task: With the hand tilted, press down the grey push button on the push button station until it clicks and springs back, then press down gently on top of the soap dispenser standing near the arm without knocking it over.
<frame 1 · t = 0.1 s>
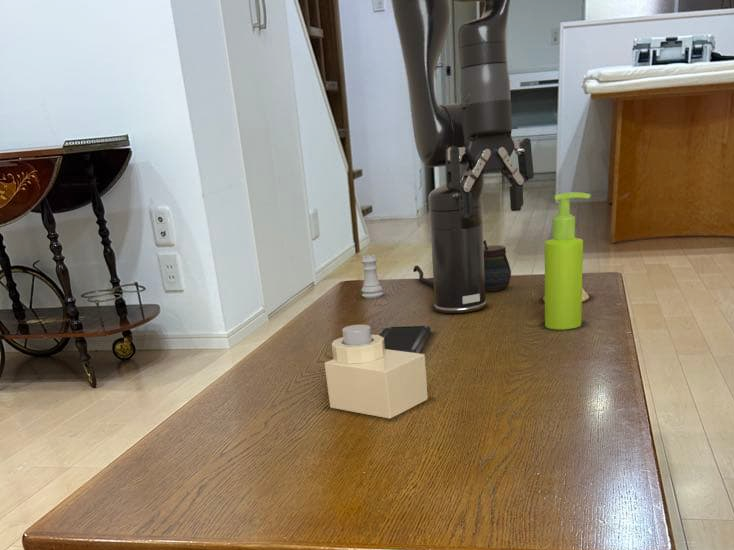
hand: (492, 214, 132), 17 cm above the table, tool pointing down, fingers open, 8 cm apart
mate gourd: (492, 290, 163), on the table
soap dispenser: (566, 326, 135), on the table
push button station: (379, 403, 107), on the table
hand bell: (565, 300, 151), on the table
rook chess piece: (372, 297, 167), on the table
phone: (400, 346, 131), on the table
grey push button: (357, 336, 104), point 9 cm above the table, slide at 0.1 cm
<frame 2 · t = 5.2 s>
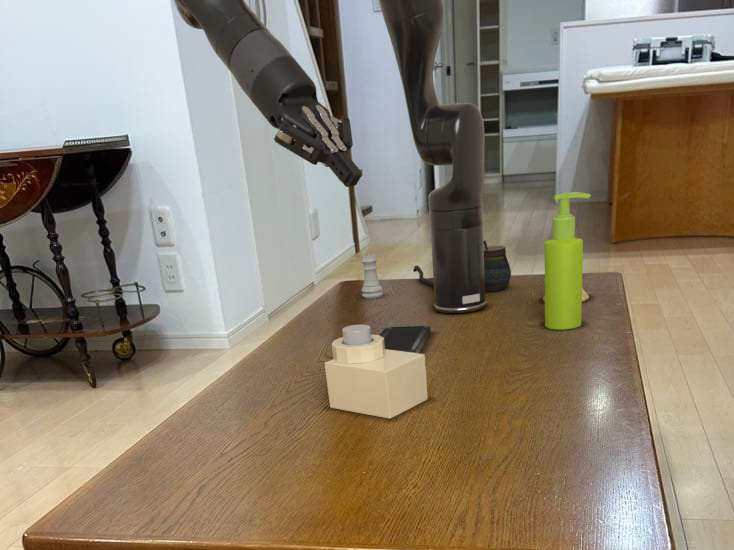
hand: (355, 181, 105), 26 cm above the table, tool tilted 45°, fingers closed
nothing on the table moved.
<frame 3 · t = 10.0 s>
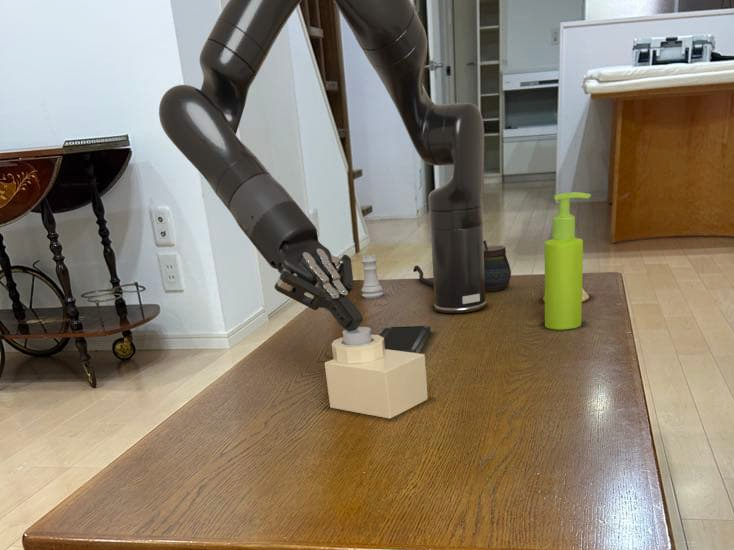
hand: (356, 325, 104), 10 cm above the table, tool tilted 45°, fingers closed
grey push button: (357, 338, 105), point 8 cm above the table, slide at -0.2 cm, touching gripper
everything else where it was.
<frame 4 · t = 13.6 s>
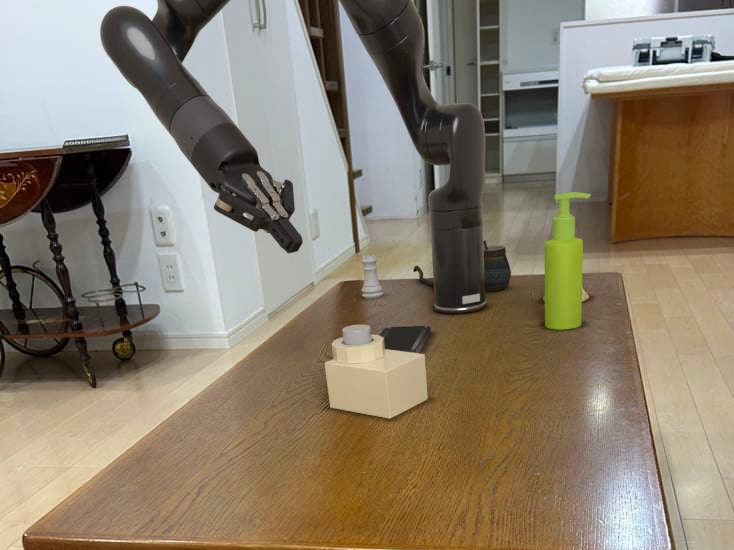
hand: (296, 247, 104), 19 cm above the table, tool tilted 45°, fingers closed
grey push button: (357, 336, 104), point 9 cm above the table, slide at 0.1 cm
everything else where it was.
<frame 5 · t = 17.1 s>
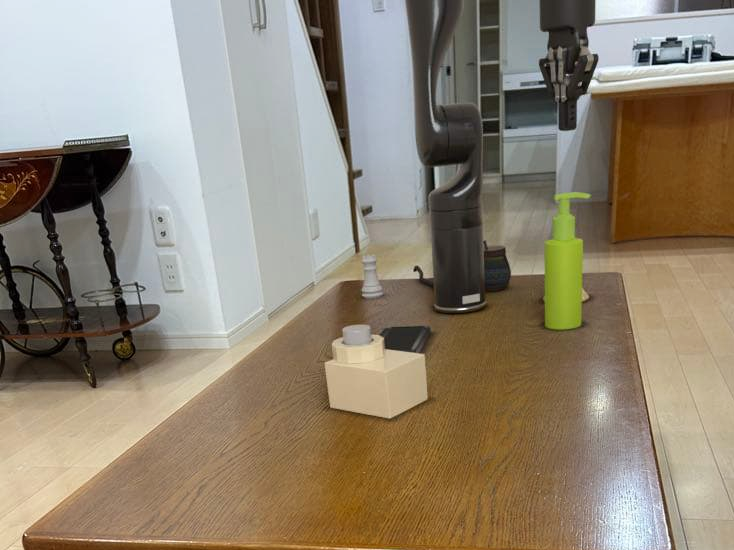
hand: (567, 130, 120), 29 cm above the table, tool pointing down, fingers closed
nothing on the table moved.
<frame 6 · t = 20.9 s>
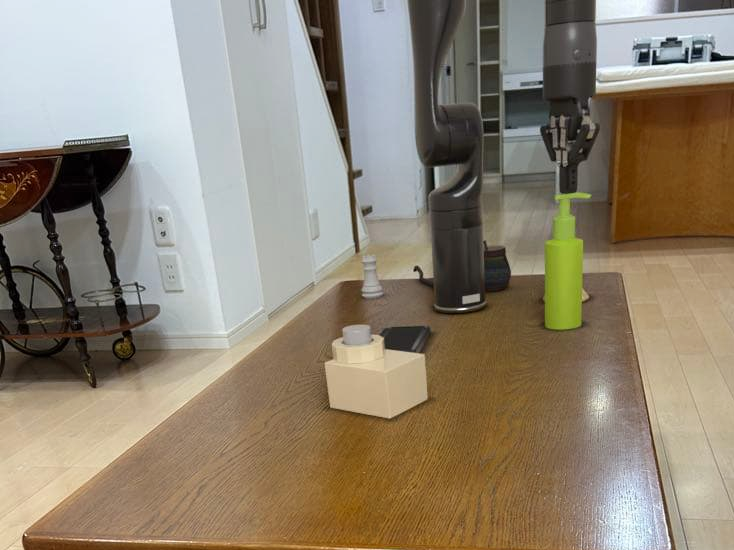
hand: (568, 193, 125), 20 cm above the table, tool pointing down, fingers closed
soap dispenser: (566, 326, 135), on the table, touching gripper
everything else where it was.
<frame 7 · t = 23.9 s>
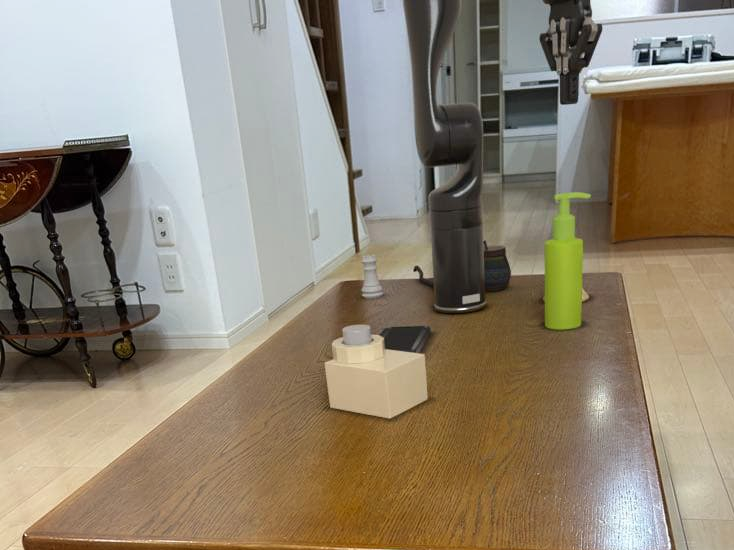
hand: (568, 104, 120), 32 cm above the table, tool pointing down, fingers closed
soap dispenser: (566, 326, 135), on the table
everything else where it was.
at the end: grey push button pushed in 1.5 cm at the most during the clip, back to where it started at the end; grey push button slide at 0.1 cm; soap dispenser tilted 0° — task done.
